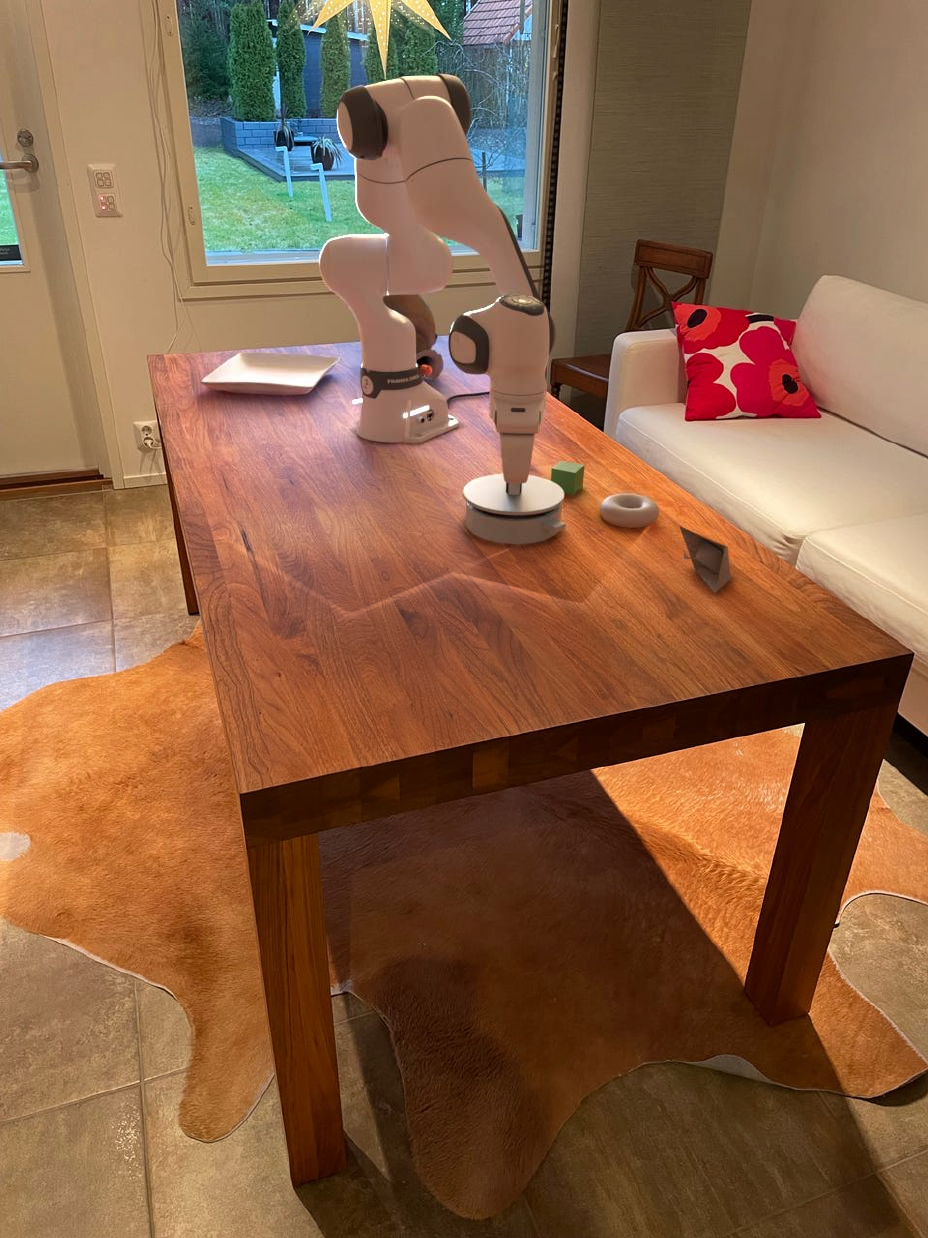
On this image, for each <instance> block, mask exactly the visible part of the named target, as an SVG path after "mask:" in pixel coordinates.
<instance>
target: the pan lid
mask: <svg viewBox="0 0 928 1238" xmlns="http://www.w3.org/2000/svg"><path fill="white" fill-rule="evenodd" d="M462 490H463V491H462V496H463V499H464V500H465V502H466V501H467V502H468V503H469V504H471V505H472V506H474V507H476V508H478V509H481V510H484V511H485V512H487V513H491V514H497V515H505V516H530V515H538V514H543V512H547V511H550V510H552V509H554V508H556V507H558V506H559V505H560V504H562V503H564V499H565V493H564V491H563V489H562V488H561V487H560V486H559V485H557V484H556V483H554V482H552V481H551V479H547V478H545V477H541V476H537V475H533V474H529V476H528V480H527V482H526V483H520V493H519V494H518V495H510V494H509V493H508V491H509V483H506V482H505V481H504V478H503V473H495V474H488V475H484V476H480V477H477V478H474V479H472V480H470V481H469V482H467V483H466V484H465V486H464V487H463V489H462ZM484 511H483V512H484Z"/></svg>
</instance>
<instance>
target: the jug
mask: <svg viewBox="0 0 928 1238" xmlns="http://www.w3.org/2000/svg"><path fill="white" fill-rule="evenodd" d="M383 302H384V304H385V305H386V306H387V307H388V308H389V309H391V310H393V311H395V312H397V313H399V314H401V315H403V316H405V317H406V318H408V319H409V320H410V321H411V322H412V324H413V325H414V327H415V331H416V363H417V364H419V365H420V366H422V365H424V364H425V365H427V366H431V368H432V370H433V371H432V373H430V374H431V375H430V376H427V375H425V374H422V376H425V377H426V378H428V379H430V380H432V381H433V380H436V379H437V378H438V377H439V376H440V374H441V373H442V372H443V371H444V364H445V363H444V359H443V355H442V354H441V353H438V352H437V351H436V350H434V349H432V348H433V346H435V344H436V343H437V341H438V337H439V336H438V334H437V332H436V331H437V330H436V321H435V317H434V315H433V312H432V310H431V307H430V306H429V304H428V303H427V301H426V300H425V299H424V298H423V296H422V294H420V295H386V296H384V297H383Z"/></svg>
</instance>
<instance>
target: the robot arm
mask: <svg viewBox="0 0 928 1238" xmlns="http://www.w3.org/2000/svg"><path fill="white" fill-rule="evenodd" d="M336 108H337V109H336V125H337V131H338V135H339V138H340V140H341V143H342V146H343V147H344V150H345V151H346V152H347V153H348V154H349V155H350V156H351V157H353V158H354V176H355V204H356V207H357V210H358V212H359V214H360V215H361V216H362V218H363V219H365V221H366V222H368V223H369V224H370V225H371V226H373V227H375V228H377V229H379V230H381V231H383V233H385V234H348V235H342V236H338V237H334V238H330V239H328V240H327V241H326V243H324V245H323V247H322V249H321V251H320V254H319V259H318V267H319V268H318V269H319V274H320V276H321V279H322V281H323V283H324V285H325V286H326V287H327V288H328V289H329V290H330V291H331V292H332V293H334V294H335V295H336V296H338V297H339V298H340V299H341V301H343V302H344V304H346V305H347V307H348V308H349V310H350V312H351V313H352V315H353V318H354V320H355V321H356V325H357V328H358V333H359V341H360V350H361V364H360V366H359V378H360V380H359V381H360V387H361V388H360V389H361V392H362V394H361V395H362V396H361V398H358V399H353V400H352V404H353V405H355V404H359V403H361V407H360V414H359V415H360V416H359V421H358V426H357V429H356V434H357V435H358V436H359V437H361V438H362V439H364V440H367V441H371V442H378V443H405V444H406V443H407V444H421V443H424V442H425V441H428V440H430V439H433V438H436V437H438V436H440V435H443V434H445V433H447V432H450V431H452V430H454V429H457V428H459V427H460V421H459V420H458V418H457V417H455V416H453V415H451V414H449V409H450V402H451V401H453V400H455V399H459V398H470V397H480V396H481V397H482V396H487V395H489V398H488V399H489V401H488V402H489V403H488V405H489V407H488V416H489V418H490V419H491V420H492V422H493V423H494V426H495V430H496V433H498V435H499V444H500V455H501V457H500V458H501V468H502V474H503V478H504V481H505V482H506V483H509V491H508V493H509V494H510V495H518V494H519V493H520V483H526V482H527V480H528V476H529V475H530V470H531V465H532V464H531V463H532V457H533V452H534V445H535V439H536V435H538V434H539V433H540V428H541V424H542V422H543V421H544V420H545V418H546V411H547V409H546V408H547V395H548V393H547V392H548V391H547V390H548V384H547V379H546V370H547V367H548V363H549V358H550V355H551V353H552V352H553V349H554V347H555V344H556V339H557V338H556V337H557V330H556V324H555V321H554V319H553V317H552V314H551V313H550V311H549V310H548V308H547V306H546V305H545V304H544V302H543V300H542V298H541V296H540V294H539V292H538V290H537V287H536V284H535V282H534V280H533V277H532V275H531V272H530V270H529V267H528V264H527V263H526V260H525V257H524V254H523V252H522V249H521V247H520V243H519V242H518V240H517V237H516V234H515V232H514V229H513V228H512V225H511V223H510V221H509V219H508V217H507V216H506V213H505V212H504V211H503V209H502V208H500V206H498V204H496V203H495V202H494V201H493V200H492V198H491V197H490V195H489V194H488V193H487V191H486V188H484V185H483V184H482V182H481V181H482V180H480V177H479V175H478V172H477V170H476V166H475V162H474V159H473V155H472V152H471V148H470V146H469V142H468V140H467V137H466V136H467V134H468V133H469V130H470V128H471V124H472V105H471V100H470V96H469V92H468V90H467V88H466V86H465V84H464V83H463V82H462V80H461V79H460V78H459V77H458V76H455V75H451V74H445V73H435V74H434V75H411V76H409V75H408V76H399V77H397V78H395V79H389V80H385V81H380V82H375V83H372V84H369V85H363V84H360V85H357V86H354V87H351V88H349V89H347V90H345V91H344V92H343V93H342V94H341V96H340V98H339V100H338V102H337V107H336ZM442 238H444V239H447V240H450V241H453V242H456V243H459V244H461V245H464V246H466V247H467V248H470V249H471V250H473V251H474V252H476V253H477V254H478V255H480V257H482V259H484V261H485V262H486V264H487V266H488V268H489V270H490V273H491V275H492V277H493V280H494V283H495V285H496V287H497V291H498V293H499V295H500V296H499V297H498V298H497V299H495V302H494V303H493V304H491V305H488V306H487V307H484V308H480V309H477V310H472V311H468V312H465V313H463V314H460V315H458V316H457V317H456V318H455V319H454V321H453V322H452V324H451V326H450V328H449V334H448V342H447V344H448V352H449V356H450V359H451V360H452V362H453V364H454V365H455V366H456V367H457V368H458V369H459V370H460V371H461V372H463V373H464V374H467V375H476V376H477V375H478V376H479V375H486V376H488V377H489V378H490V384H489V390H488V391H481V392H473V393H472V392H471V393H462V394H461V393H460V394H455V395H451V396H450V397H448V398H447V399H446V397H445V396H444V395H443V394H441V392H440V391H438V390H436V389H435V388H434V387H432V386H431V385H430V384H429V383H427V382H426V381H425V380H424V378H423V377H424V376H425V375H427V376H430V375H431V374H430V373H432V371H433V370H432V368H431V366H427V365H425V364H424V365H422V366H420V365H419V364H417V363H416V331H415V327H414V325H413V324H412V322H411V321H410V320H409V319H408V318H406V317H405V316H403V315H401V314H399V313H397V312H395V311H393V310H391V309H389V308H388V307H387V306H386V305H385V304H384V302H383V297H384V296H386V295H425V294H430V293H434V292H439V291H442V290H443V289H444V288H445V287H447V285H448V283H449V282H450V281H451V278H452V274H453V271H454V258H453V254H452V251H451V250H450V247H449V246H448V244H447V243H446V241H444V240H443V239H442ZM423 374H425V375H424V376H423Z"/></svg>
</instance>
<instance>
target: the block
mask: <svg viewBox="0 0 928 1238" xmlns="http://www.w3.org/2000/svg"><path fill="white" fill-rule="evenodd" d="M584 477H585V464H581V463H577V462H571V461H565V460H560V461H559V462H557V464H555V465H554V466H553V467H551V471H550V481H552V482H554V483H556V484H557V485H559V486H560V487H561V488H562V489H563V491H564V494H568V495H573V496H574V495H575V494H576V493H578V491H580V490H583V487H584Z"/></svg>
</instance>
